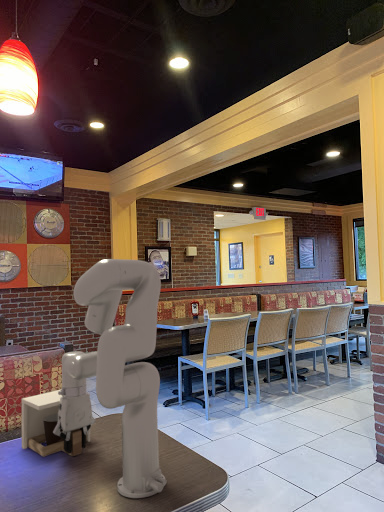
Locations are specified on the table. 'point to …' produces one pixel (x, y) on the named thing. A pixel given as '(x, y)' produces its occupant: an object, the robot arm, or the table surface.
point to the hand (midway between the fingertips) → (75, 449)
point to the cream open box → (38, 414)
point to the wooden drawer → (57, 444)
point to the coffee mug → (51, 429)
